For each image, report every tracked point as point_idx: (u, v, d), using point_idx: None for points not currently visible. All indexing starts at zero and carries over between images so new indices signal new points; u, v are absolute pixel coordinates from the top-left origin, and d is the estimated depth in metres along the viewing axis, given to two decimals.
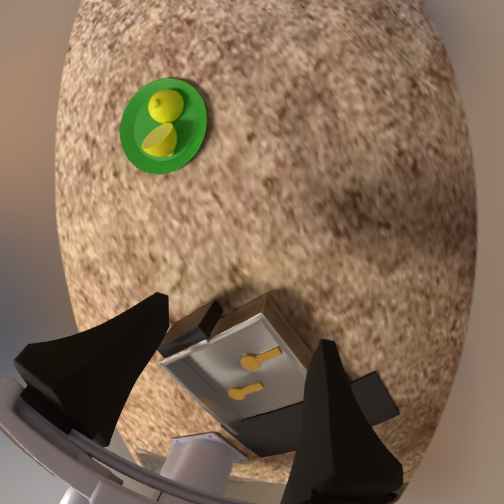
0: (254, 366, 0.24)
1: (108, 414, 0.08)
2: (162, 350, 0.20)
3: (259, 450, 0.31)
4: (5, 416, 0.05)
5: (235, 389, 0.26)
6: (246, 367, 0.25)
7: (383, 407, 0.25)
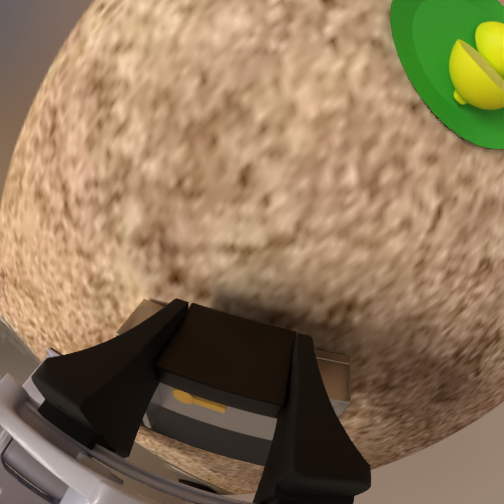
0: None
1: (130, 425, 0.08)
2: (166, 376, 0.09)
3: None
4: (5, 416, 0.05)
5: (188, 394, 0.18)
6: None
7: None
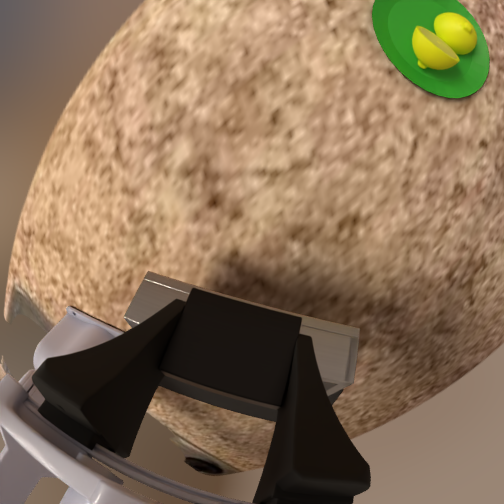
0: None
1: (130, 425, 0.08)
2: (171, 375, 0.10)
3: None
4: (5, 416, 0.05)
5: None
6: None
7: None
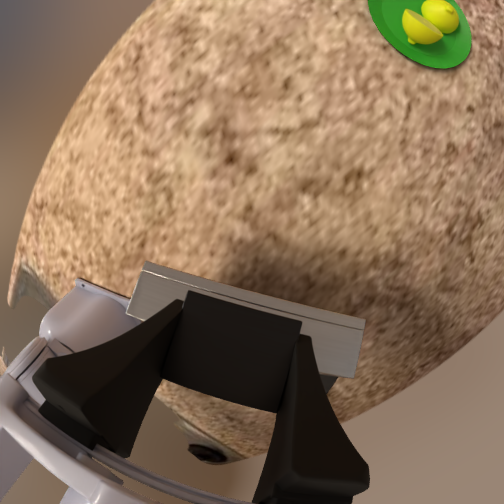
0: None
1: (130, 426, 0.08)
2: (173, 381, 0.11)
3: None
4: (5, 416, 0.05)
5: None
6: None
7: None
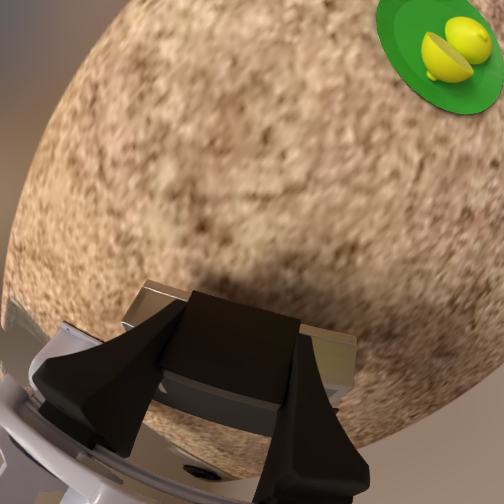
0: None
1: (130, 426, 0.08)
2: (169, 374, 0.10)
3: None
4: (5, 416, 0.05)
5: None
6: None
7: None
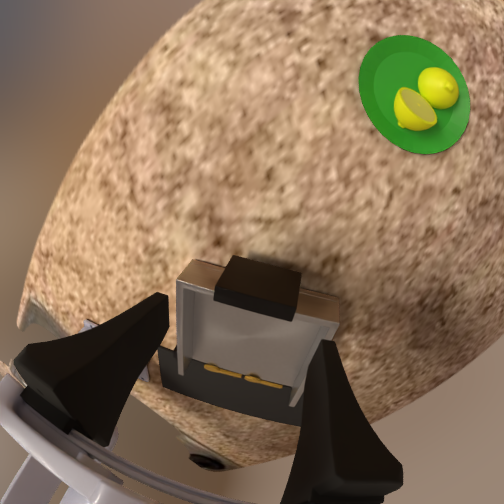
0: (253, 381, 0.27)
1: (108, 414, 0.08)
2: (222, 294, 0.17)
3: (169, 382, 0.33)
4: (5, 416, 0.05)
5: (215, 369, 0.27)
6: (246, 379, 0.27)
7: None
